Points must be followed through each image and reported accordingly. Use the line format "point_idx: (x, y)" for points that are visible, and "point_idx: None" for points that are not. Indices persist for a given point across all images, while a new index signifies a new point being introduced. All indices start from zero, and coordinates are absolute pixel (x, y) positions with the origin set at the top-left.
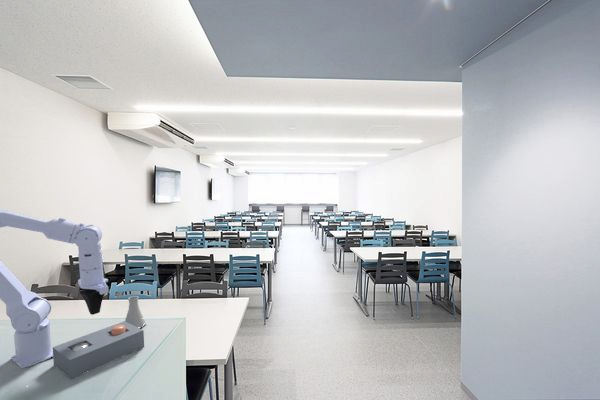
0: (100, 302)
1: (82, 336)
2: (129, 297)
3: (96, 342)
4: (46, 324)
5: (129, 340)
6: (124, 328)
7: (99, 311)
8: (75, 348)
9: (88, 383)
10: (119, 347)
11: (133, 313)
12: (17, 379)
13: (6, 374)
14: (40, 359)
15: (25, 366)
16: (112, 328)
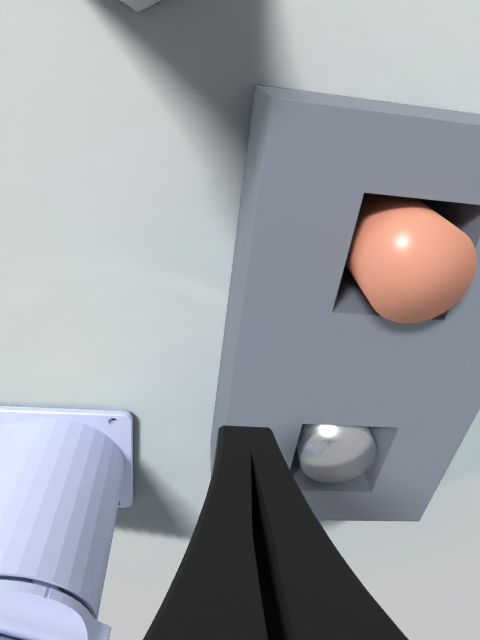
0: (316, 534)
1: (228, 412)
2: None
3: (395, 409)
4: (62, 608)
5: None
6: (472, 248)
7: (272, 437)
8: (333, 474)
9: (476, 431)
10: None
11: None
12: (197, 520)
13: (121, 527)
14: (125, 466)
15: (131, 499)
16: (384, 307)
